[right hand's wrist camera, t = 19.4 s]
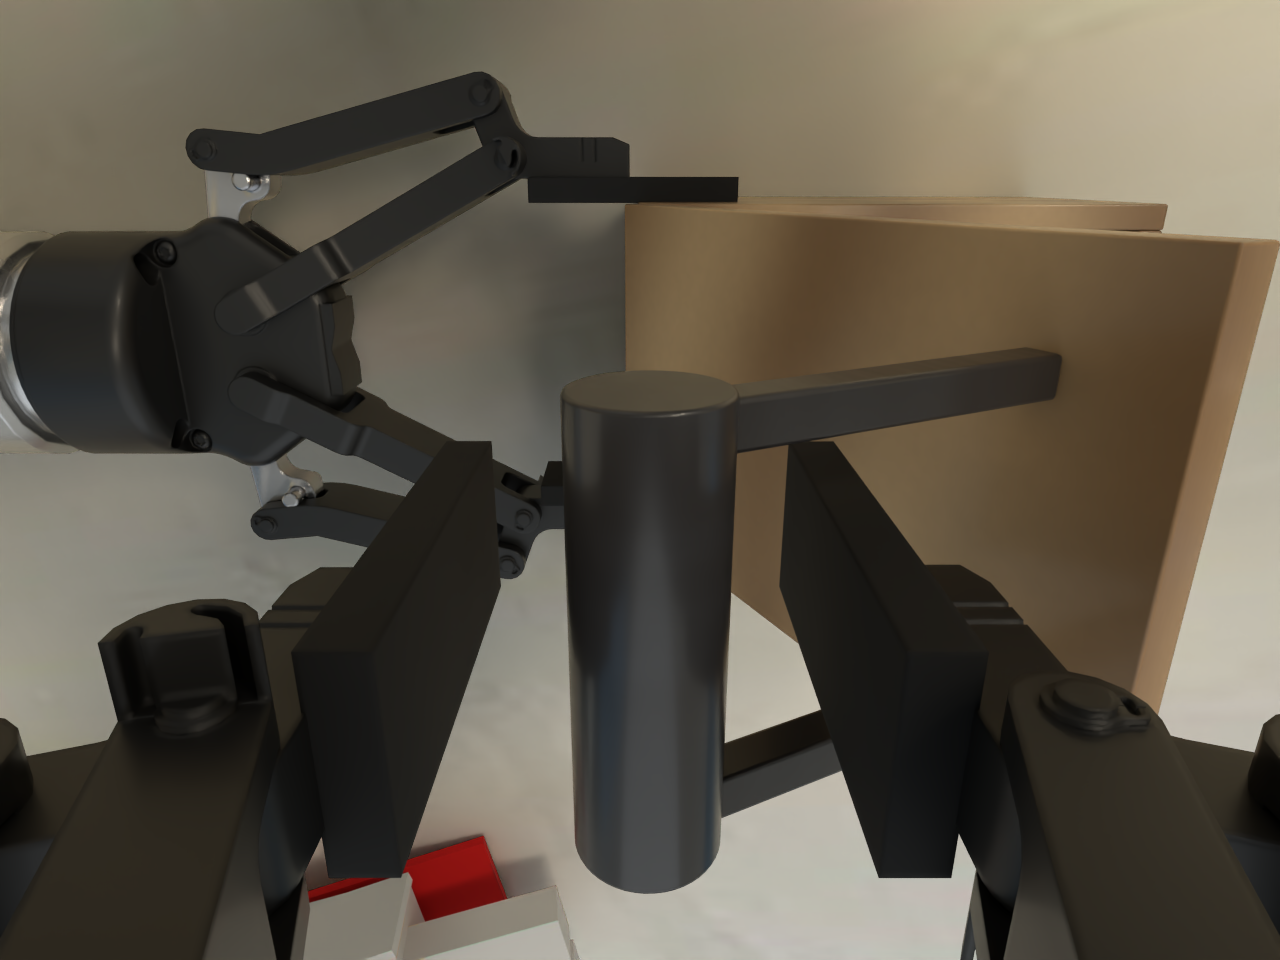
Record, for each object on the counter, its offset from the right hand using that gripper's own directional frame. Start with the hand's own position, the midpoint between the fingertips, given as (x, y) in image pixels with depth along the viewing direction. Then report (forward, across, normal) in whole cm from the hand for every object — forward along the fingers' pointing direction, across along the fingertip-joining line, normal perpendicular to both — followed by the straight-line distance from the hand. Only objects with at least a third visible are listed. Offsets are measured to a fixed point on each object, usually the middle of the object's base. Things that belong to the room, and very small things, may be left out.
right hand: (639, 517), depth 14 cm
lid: (+5, +4, 0) cm, 6 cm away
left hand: (+15, +3, 0) cm, 16 cm away
